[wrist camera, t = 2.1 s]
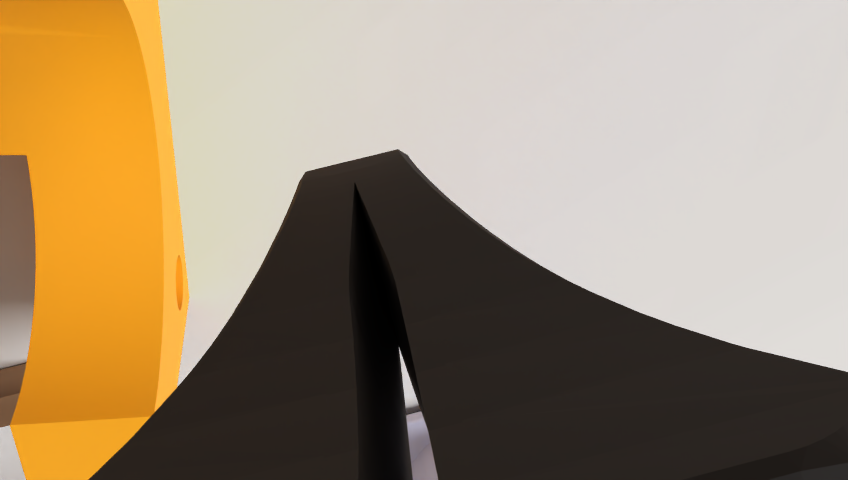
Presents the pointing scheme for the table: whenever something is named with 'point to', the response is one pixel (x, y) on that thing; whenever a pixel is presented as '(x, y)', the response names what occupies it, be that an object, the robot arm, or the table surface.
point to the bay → (10, 391)
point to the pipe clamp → (94, 226)
